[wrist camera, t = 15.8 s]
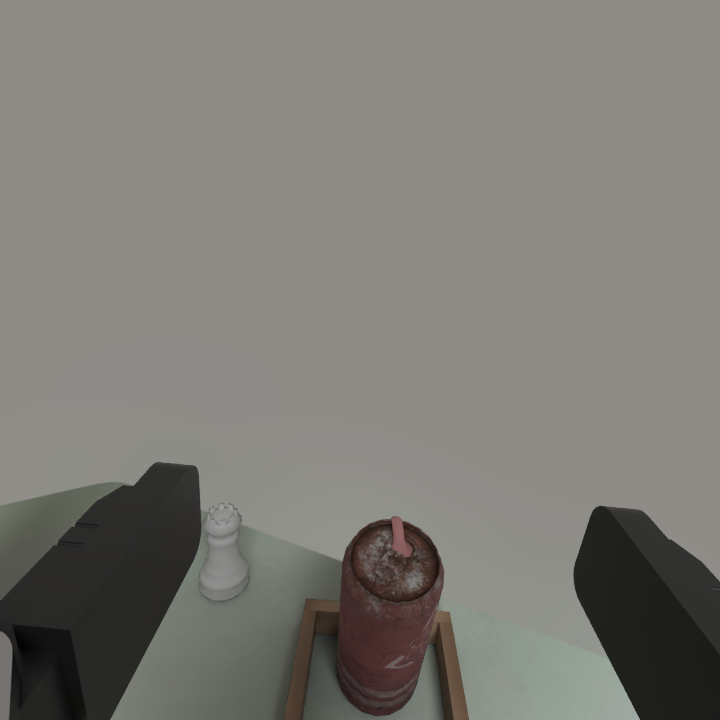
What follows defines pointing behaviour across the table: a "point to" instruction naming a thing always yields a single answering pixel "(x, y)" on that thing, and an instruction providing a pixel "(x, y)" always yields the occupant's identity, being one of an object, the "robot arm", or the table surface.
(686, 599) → the robot arm
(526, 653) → the table surface
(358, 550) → the can
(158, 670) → the table surface
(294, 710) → the walnut collar
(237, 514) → the rook chess piece
